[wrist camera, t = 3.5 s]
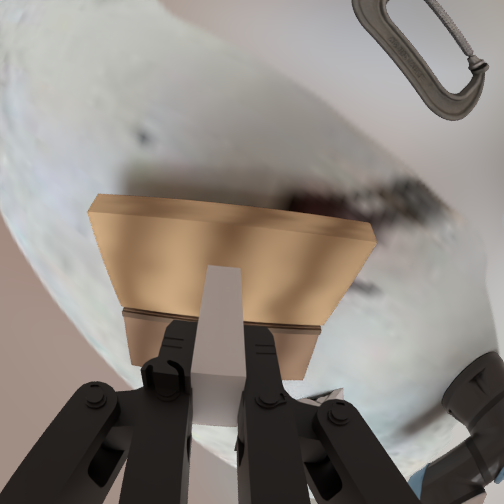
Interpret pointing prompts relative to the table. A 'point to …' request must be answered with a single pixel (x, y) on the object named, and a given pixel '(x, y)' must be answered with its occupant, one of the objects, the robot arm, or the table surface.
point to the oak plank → (228, 255)
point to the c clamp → (413, 65)
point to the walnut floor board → (285, 335)
